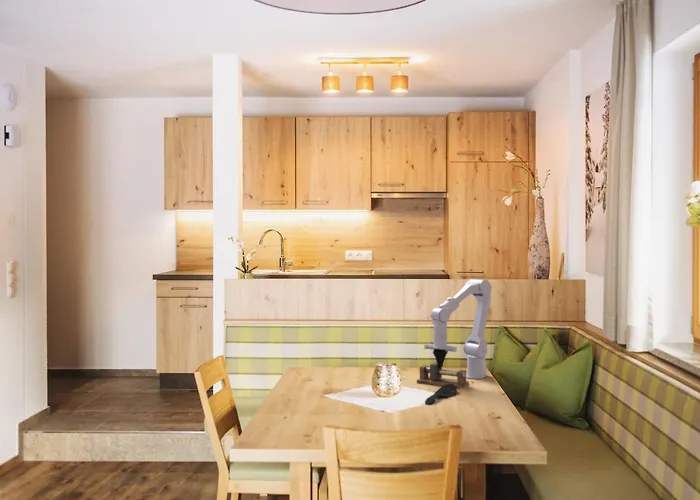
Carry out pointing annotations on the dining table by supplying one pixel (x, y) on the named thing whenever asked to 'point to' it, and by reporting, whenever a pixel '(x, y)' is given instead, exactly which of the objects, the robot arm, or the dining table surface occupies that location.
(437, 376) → the collar
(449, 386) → the hairbrush
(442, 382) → the pipe stand
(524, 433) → the dining table surface
